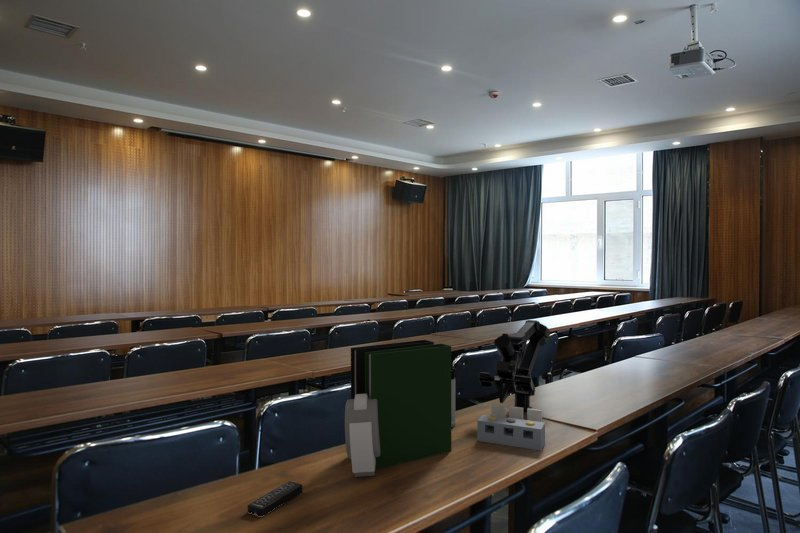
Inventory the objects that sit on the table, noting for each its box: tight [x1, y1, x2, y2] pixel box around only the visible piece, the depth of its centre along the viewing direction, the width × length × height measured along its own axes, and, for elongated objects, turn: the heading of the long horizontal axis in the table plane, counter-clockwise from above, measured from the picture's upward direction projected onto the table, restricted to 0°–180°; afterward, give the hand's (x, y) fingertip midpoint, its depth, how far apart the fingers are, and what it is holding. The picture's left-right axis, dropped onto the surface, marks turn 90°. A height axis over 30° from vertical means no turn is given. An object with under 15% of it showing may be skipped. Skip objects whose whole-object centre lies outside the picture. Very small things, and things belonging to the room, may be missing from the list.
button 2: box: [508, 405, 524, 431], centre depth 162 cm, size 8×4×6 cm, turn 154°
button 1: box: [490, 403, 506, 428], centre depth 165 cm, size 8×4×6 cm, turn 154°
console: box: [476, 414, 546, 451], centre depth 158 cm, size 7×20×7 cm, turn 64°
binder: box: [350, 339, 452, 470], centre depth 150 cm, size 27×15×32 cm, turn 122°
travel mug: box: [451, 367, 457, 428], centre depth 174 cm, size 6×7×20 cm
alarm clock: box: [344, 394, 380, 478], centre depth 137 cm, size 18×8×20 cm, turn 0°
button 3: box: [526, 408, 543, 434], centre depth 159 cm, size 8×4×6 cm, turn 154°
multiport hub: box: [247, 481, 303, 516], centre depth 119 cm, size 4×14×2 cm, turn 151°
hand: (501, 402), depth 171 cm, fingers closed
